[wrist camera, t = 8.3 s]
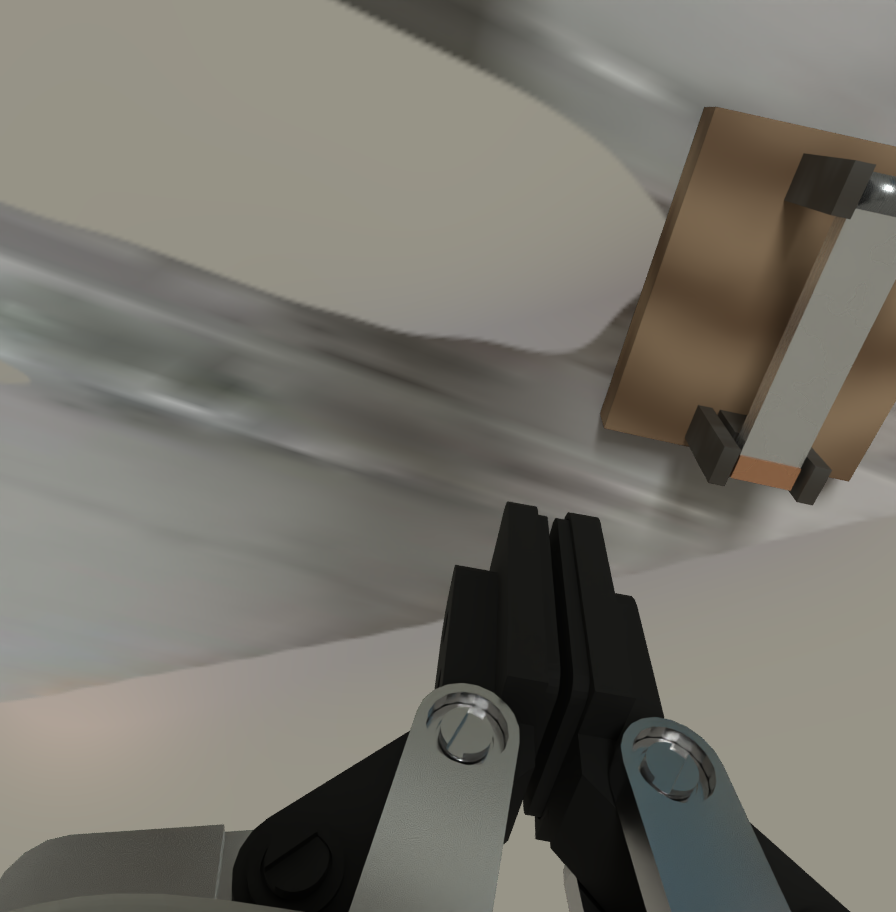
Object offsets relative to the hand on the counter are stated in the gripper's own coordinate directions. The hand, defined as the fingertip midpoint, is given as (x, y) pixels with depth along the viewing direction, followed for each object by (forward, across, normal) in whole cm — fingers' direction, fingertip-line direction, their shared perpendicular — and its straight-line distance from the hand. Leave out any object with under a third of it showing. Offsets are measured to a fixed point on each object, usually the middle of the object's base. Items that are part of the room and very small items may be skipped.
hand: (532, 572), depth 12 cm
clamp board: (+25, -14, 0) cm, 29 cm away
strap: (+20, -14, 0) cm, 24 cm away
